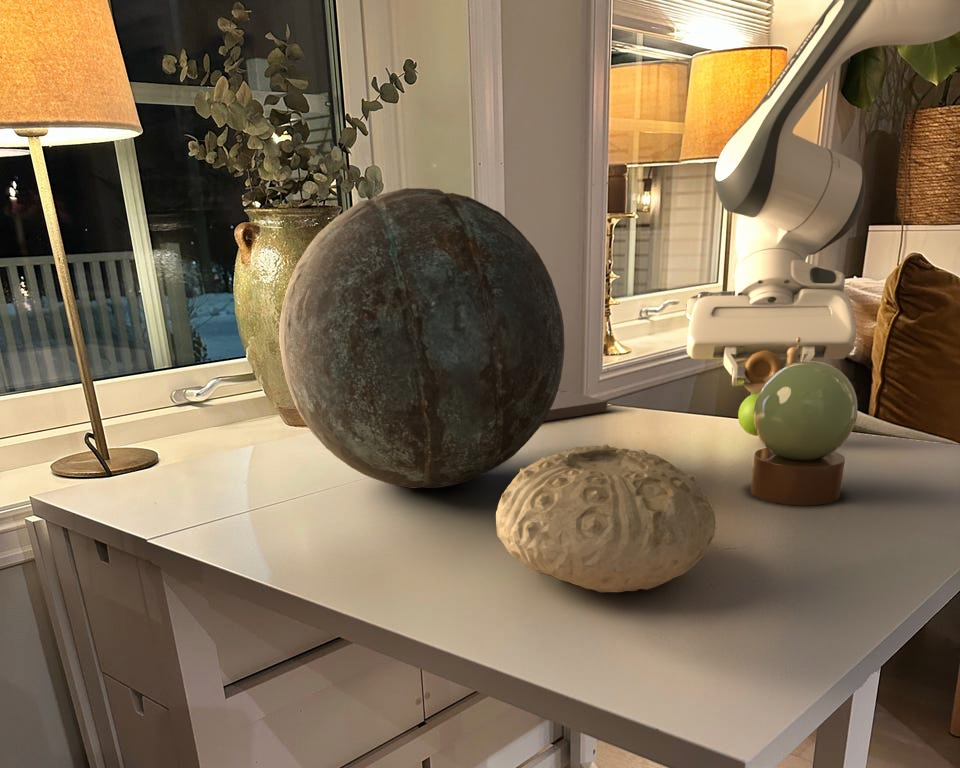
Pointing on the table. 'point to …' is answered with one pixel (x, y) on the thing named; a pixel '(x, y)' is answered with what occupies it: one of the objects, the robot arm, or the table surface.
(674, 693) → the table surface
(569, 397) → the notebook
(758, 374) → the snail figurine
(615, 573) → the decorative shell
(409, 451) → the metal sphere
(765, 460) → the ball stand
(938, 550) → the table surface
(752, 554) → the table surface
